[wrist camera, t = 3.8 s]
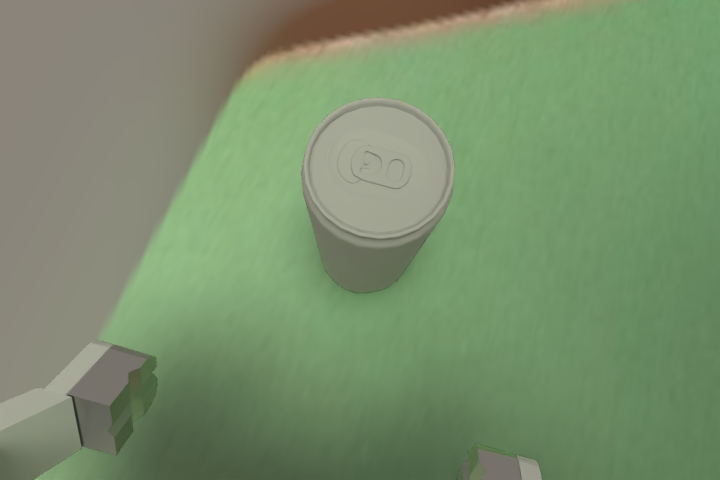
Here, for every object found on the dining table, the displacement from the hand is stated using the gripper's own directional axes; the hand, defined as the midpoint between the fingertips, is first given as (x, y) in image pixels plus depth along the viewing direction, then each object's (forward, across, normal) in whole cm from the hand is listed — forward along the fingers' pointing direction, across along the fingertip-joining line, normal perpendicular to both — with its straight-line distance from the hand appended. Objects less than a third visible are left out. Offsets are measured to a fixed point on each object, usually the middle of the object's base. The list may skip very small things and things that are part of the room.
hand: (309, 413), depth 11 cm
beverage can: (+14, 0, +4) cm, 15 cm away
